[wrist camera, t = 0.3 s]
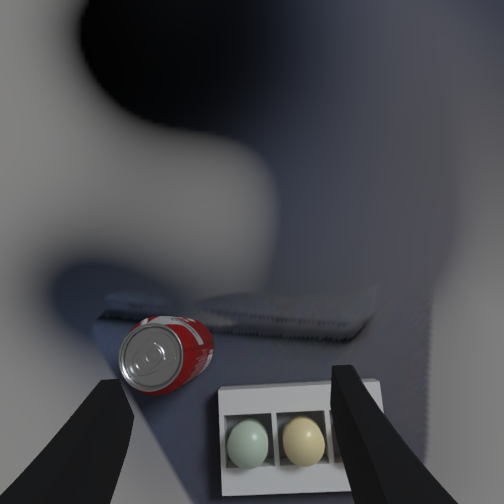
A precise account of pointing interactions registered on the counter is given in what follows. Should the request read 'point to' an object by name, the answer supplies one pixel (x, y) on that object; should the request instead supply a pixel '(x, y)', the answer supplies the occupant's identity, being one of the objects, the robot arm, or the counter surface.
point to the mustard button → (303, 441)
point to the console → (274, 419)
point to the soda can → (165, 353)
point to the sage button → (248, 443)
